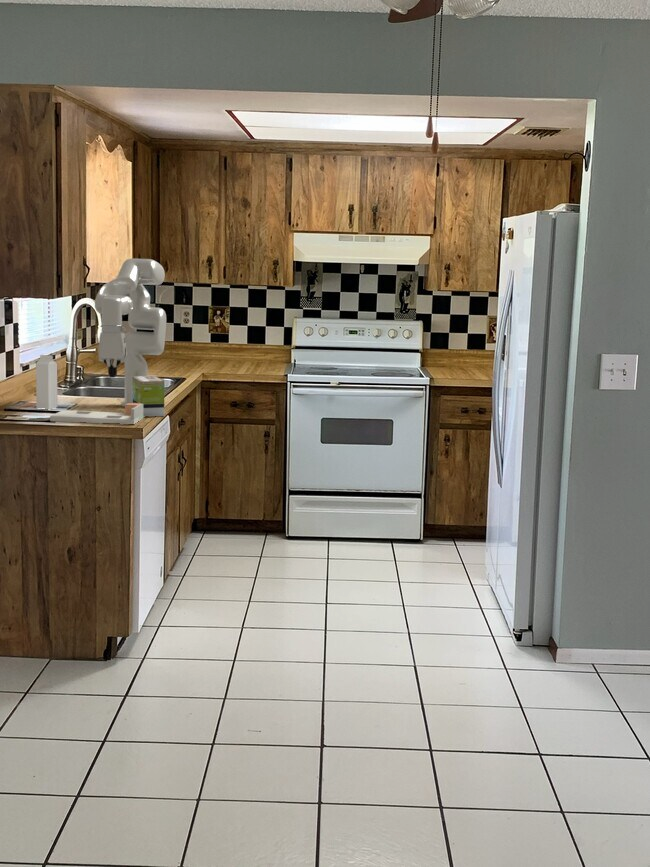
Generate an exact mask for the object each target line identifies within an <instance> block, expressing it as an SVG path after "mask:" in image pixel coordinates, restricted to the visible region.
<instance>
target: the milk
mask: <svg viewBox="0 0 650 867" xmlns="http://www.w3.org/2000/svg"><path fill="white" fill-rule="evenodd" d="M53 358H54V356H53V355H47V354H46V355H45V354H40V357H39V359H38V360H37V362H36V363H35V377H36V378H35V380H36V381H35V384H36V385H35V387H36V388H35V391H36V396H35V397H36V400H35V401H36V409H37V408H45V409H52V408H56V407H58V405H59V404H58V362H56V361H55V360H54V359H53Z"/></svg>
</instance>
